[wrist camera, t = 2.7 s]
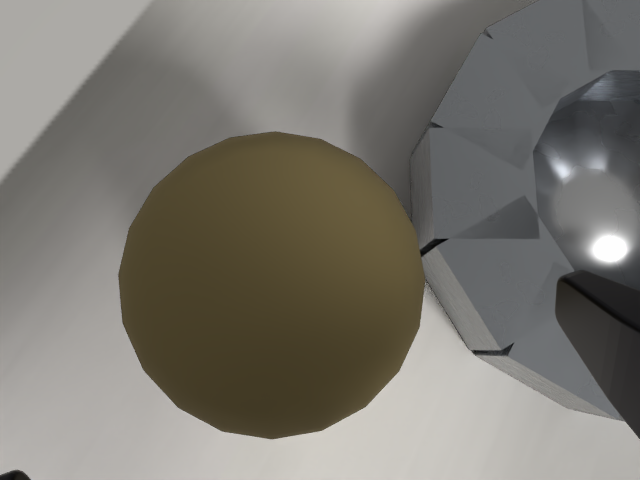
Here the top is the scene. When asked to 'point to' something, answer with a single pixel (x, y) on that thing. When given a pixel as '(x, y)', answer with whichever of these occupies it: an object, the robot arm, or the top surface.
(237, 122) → the top surface
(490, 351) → the ring
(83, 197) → the top surface
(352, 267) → the cork
